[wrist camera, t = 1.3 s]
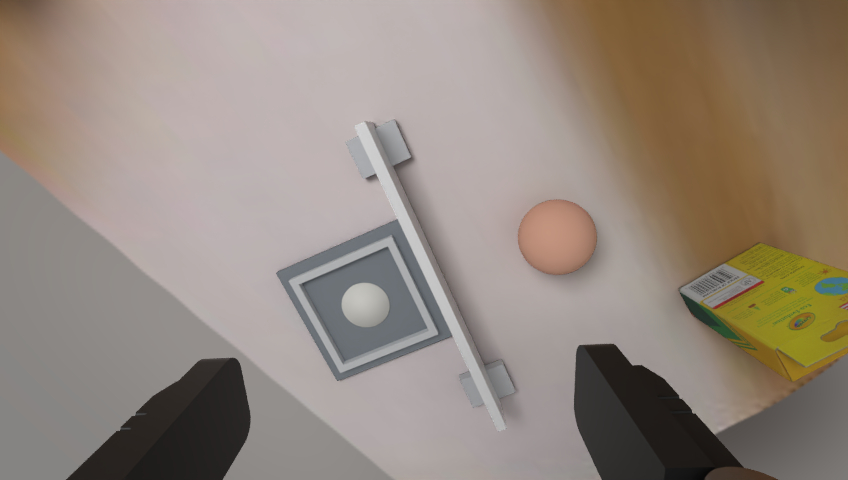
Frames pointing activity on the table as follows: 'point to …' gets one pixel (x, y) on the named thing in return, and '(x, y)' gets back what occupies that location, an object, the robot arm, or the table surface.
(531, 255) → the rubber ball
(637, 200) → the table surface
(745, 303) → the crayon box
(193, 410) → the robot arm
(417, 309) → the slate mat
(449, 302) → the low wall
